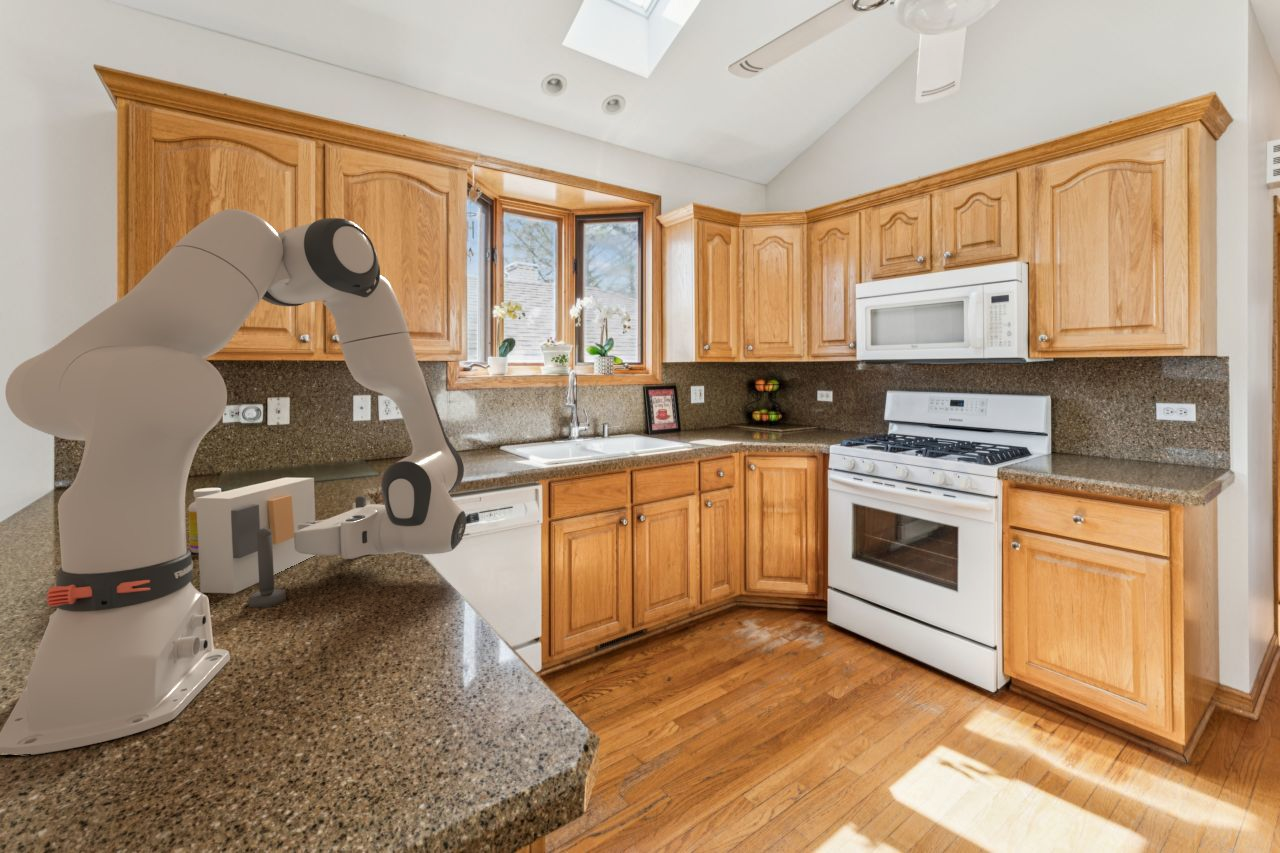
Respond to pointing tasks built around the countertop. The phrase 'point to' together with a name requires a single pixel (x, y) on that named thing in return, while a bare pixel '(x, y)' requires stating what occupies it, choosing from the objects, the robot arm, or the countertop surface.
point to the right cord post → (360, 501)
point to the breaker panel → (217, 528)
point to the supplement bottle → (193, 516)
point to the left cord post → (266, 574)
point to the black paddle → (245, 530)
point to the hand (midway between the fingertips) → (303, 527)
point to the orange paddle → (281, 519)
